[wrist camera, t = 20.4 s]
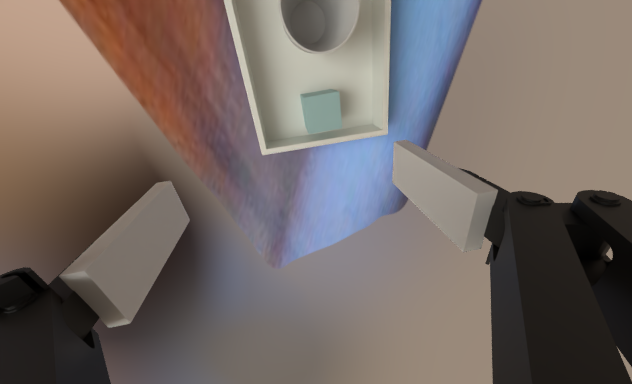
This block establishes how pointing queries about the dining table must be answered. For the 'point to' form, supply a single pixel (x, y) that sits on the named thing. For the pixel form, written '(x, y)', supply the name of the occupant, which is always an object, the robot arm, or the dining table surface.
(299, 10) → the cup
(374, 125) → the tote
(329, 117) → the cube
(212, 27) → the dining table surface
